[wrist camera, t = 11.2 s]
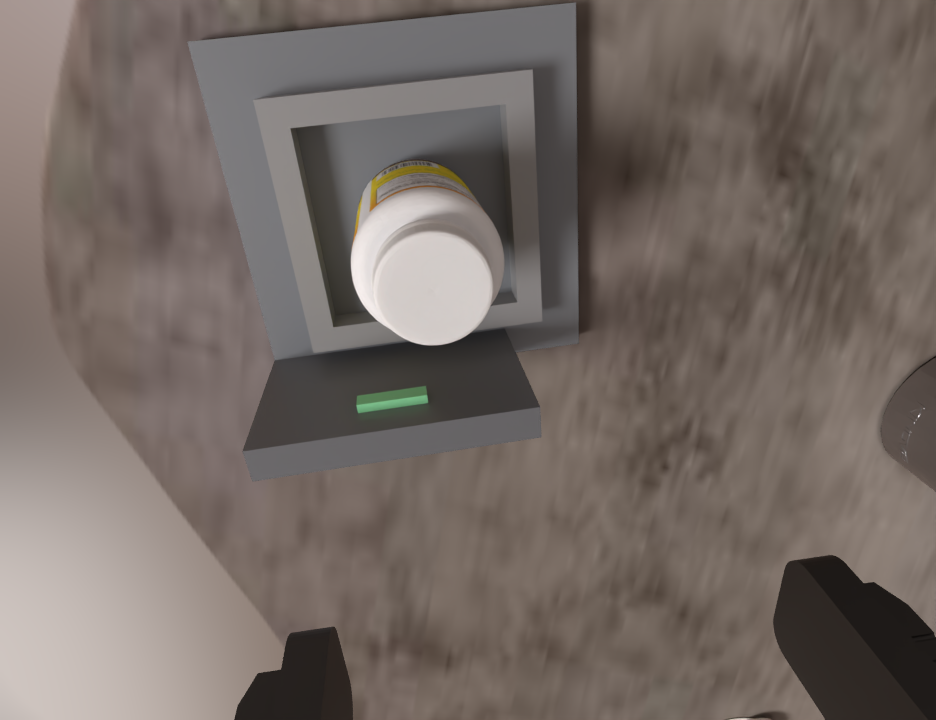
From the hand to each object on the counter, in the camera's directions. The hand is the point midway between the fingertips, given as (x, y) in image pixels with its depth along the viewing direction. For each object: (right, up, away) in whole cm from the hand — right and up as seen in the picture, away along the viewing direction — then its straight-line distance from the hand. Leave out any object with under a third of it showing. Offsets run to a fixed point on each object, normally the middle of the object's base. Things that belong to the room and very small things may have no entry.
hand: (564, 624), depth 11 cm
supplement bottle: (-4, +12, +18) cm, 22 cm away
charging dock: (-4, +12, +19) cm, 23 cm away
